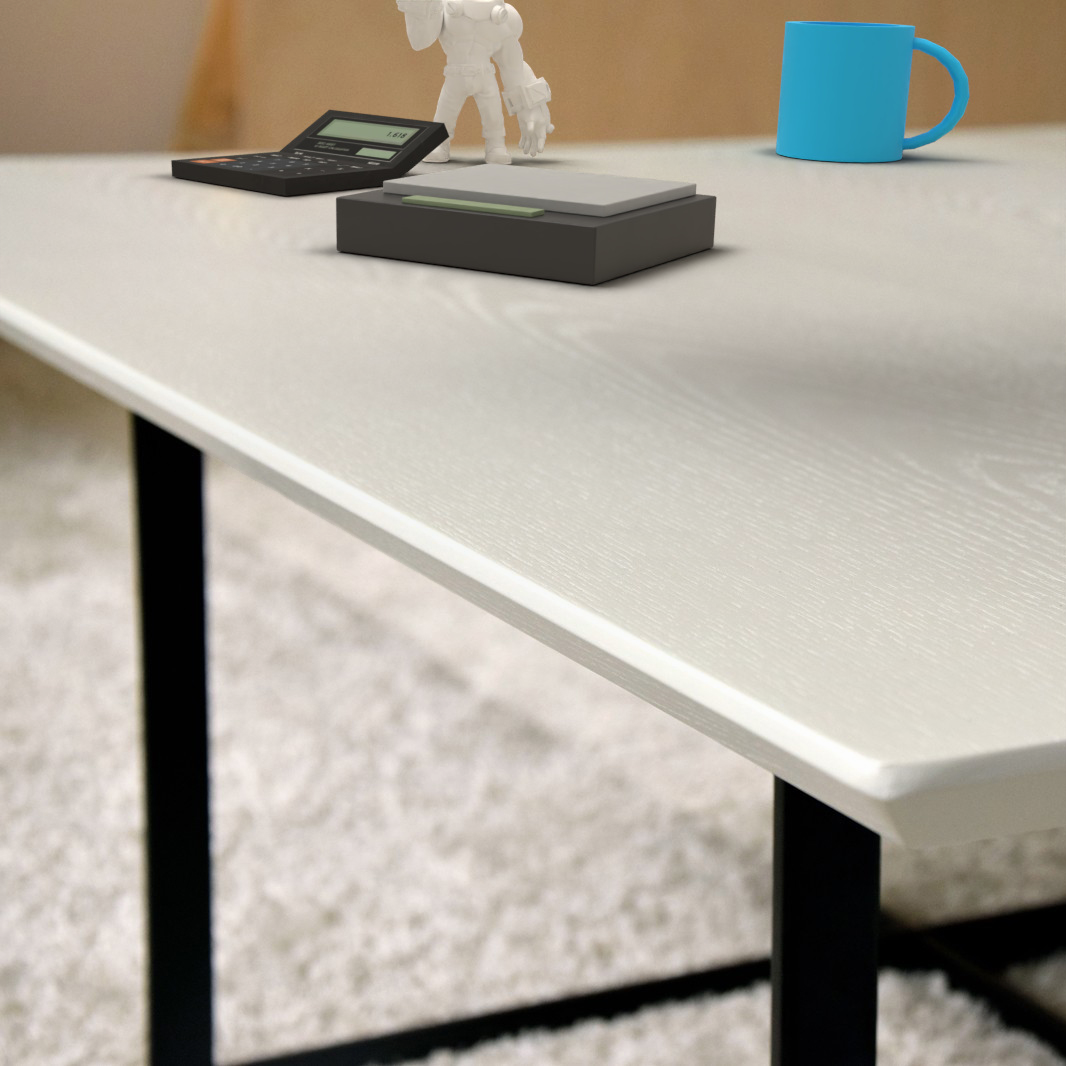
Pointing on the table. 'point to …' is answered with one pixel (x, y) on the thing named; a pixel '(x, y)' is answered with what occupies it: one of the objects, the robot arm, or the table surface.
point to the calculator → (325, 156)
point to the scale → (529, 221)
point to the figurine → (481, 71)
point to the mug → (855, 91)
